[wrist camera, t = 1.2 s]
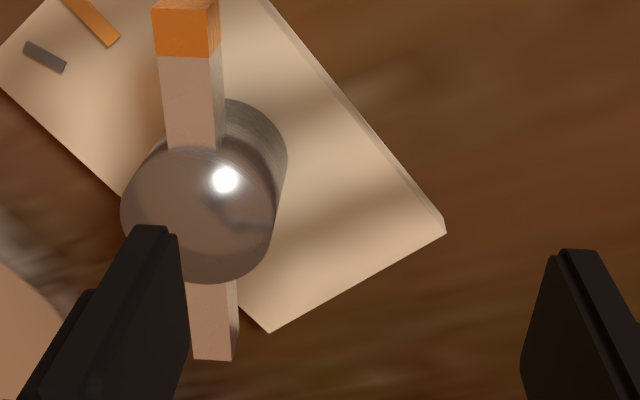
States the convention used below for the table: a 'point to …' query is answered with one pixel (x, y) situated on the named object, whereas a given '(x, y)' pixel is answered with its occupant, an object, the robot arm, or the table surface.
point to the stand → (248, 87)
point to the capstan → (207, 173)
